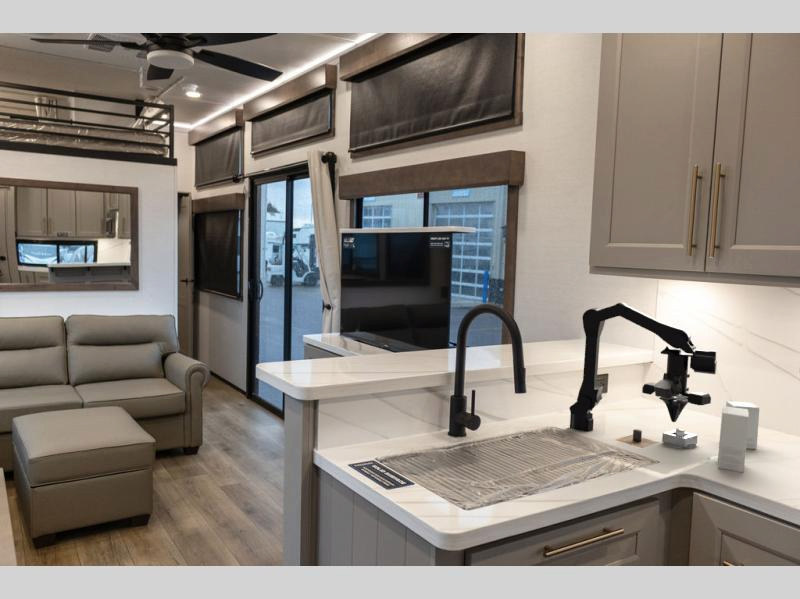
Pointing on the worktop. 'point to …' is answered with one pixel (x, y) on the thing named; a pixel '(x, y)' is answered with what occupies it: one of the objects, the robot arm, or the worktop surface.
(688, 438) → the collar
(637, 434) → the stand
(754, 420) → the supplement box
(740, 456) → the skincare box
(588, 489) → the worktop surface
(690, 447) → the hub
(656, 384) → the robot arm
